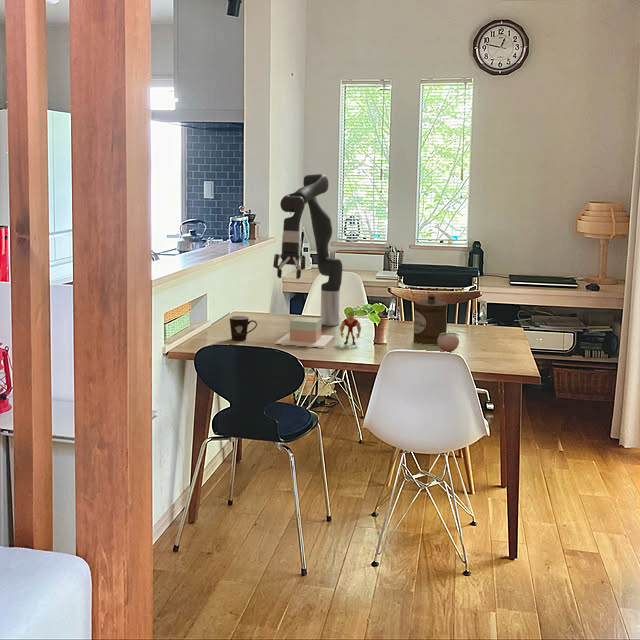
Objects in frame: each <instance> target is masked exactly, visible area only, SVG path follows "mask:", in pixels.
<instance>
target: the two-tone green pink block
mask: <svg viewBox="0 0 640 640" xmlns="http://www.w3.org/2000/svg"><path fill="white" fill-rule="evenodd" d="M334 339H335V335H328V334H327V335H324V334H322V324H321V318H320V317H319V318H318V317H308V316H307V317H305V316H295V317H293V318H292V319H291V320H289V332H287V333H286V334H285V335H283V336H282V337H281V338H279V339H278V340H277V341H275V344H282V345H281V346H285V345H298V346H307V347H306V348H312V347H318V348H317V349H325V348H326V347H327V346H328V345H329V344H330V343H331V342H332V341H334ZM298 346H297V347H298Z"/></svg>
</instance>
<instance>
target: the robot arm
mask: <svg viewBox="0 0 640 640" xmlns="http://www.w3.org/2000/svg"><path fill="white" fill-rule="evenodd" d="M302 184H303V186H302V187H300V188H298V189H297V190H296V191H295V192H292V193H289V194H285V195H284V196H283V197H282V198H281V200H280V203H279V204H280V209H281V211H283V212H285V213H293V214H292V216H288V217H285V218H284V220H283V231H282V236H281V237H282V240H281V253H280V254H279V253H274V257H273V268H275V269H276V270H277V271H276V273H277V274H276V276H277V278H278V279H282V273H283V272H282V271H283V270H282V269H283V268H284V266H285V265H287V266H288V265H290V266H294V267H295V269H296V271H295V272H296V274H295V275H296V276H295V279H296V280H300V278H301V277H302V276H301V273H302V271H303V270H305V269H306V256H305V255H299V251H300V223H301V219H302V215H303V213H304V211H305V205H306V204H307V205H308V209H309V213H310V220H311V225H312V232H313V236H314V242H315V248H316V258H317V261H316V262H317V269H318V271H319V273H320V274H321V275H322V276H324V277H328V280H327V281H326V282H324V283H322V284H321V287H320V317H319V318H321V326H331V327H332V326H339V324H340V322H339V321H340V300H341V298H340V293H341V290H340V289H341V285H342V279H343V278H342V277H343V263H342V261H341V260H340V259H339V258H335V257H330V254H329V243H330V240H331V239H332V235H333V225H332V222H331V221H332V220H331V217H330V216H329V214H328V213H327V212H326V211H325V210H324V208H323V207H322V206H321V205H320V203H319V201H318V199H317V196H320V195H321V194H325V193H326V192H327V191H328V190H329V178H328V177H327V175H326V174H323V173H318V174H315V173H314V174H306V175H305V176H304V178H303V183H302ZM279 260H281V261H280V262H279ZM298 260H299V261H300V263H299V262H298Z"/></svg>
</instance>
